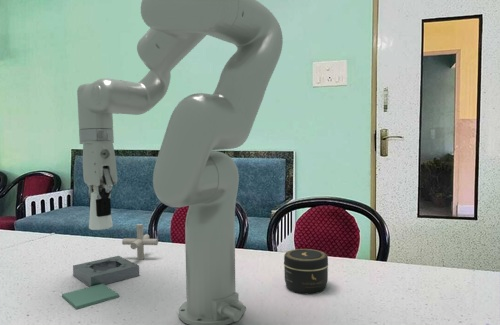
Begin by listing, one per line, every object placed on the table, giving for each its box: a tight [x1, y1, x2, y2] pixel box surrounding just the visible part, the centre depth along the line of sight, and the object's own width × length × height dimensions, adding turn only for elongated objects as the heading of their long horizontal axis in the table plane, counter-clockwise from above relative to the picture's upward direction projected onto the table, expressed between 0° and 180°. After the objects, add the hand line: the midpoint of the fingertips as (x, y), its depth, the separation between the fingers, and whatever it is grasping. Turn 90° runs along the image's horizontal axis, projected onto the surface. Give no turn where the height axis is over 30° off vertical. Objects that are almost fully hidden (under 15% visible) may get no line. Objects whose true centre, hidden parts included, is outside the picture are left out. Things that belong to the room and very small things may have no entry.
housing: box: [72, 255, 140, 287], centre depth 98 cm, size 12×12×3 cm
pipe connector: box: [121, 223, 159, 261], centre depth 112 cm, size 10×10×10 cm
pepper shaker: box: [88, 183, 114, 231], centre depth 92 cm, size 5×5×11 cm
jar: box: [283, 248, 329, 295], centre depth 89 cm, size 10×10×8 cm
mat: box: [61, 284, 120, 310], centre depth 85 cm, size 9×9×1 cm
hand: (100, 213), depth 92 cm, fingers closed on pepper shaker, 3 cm apart
